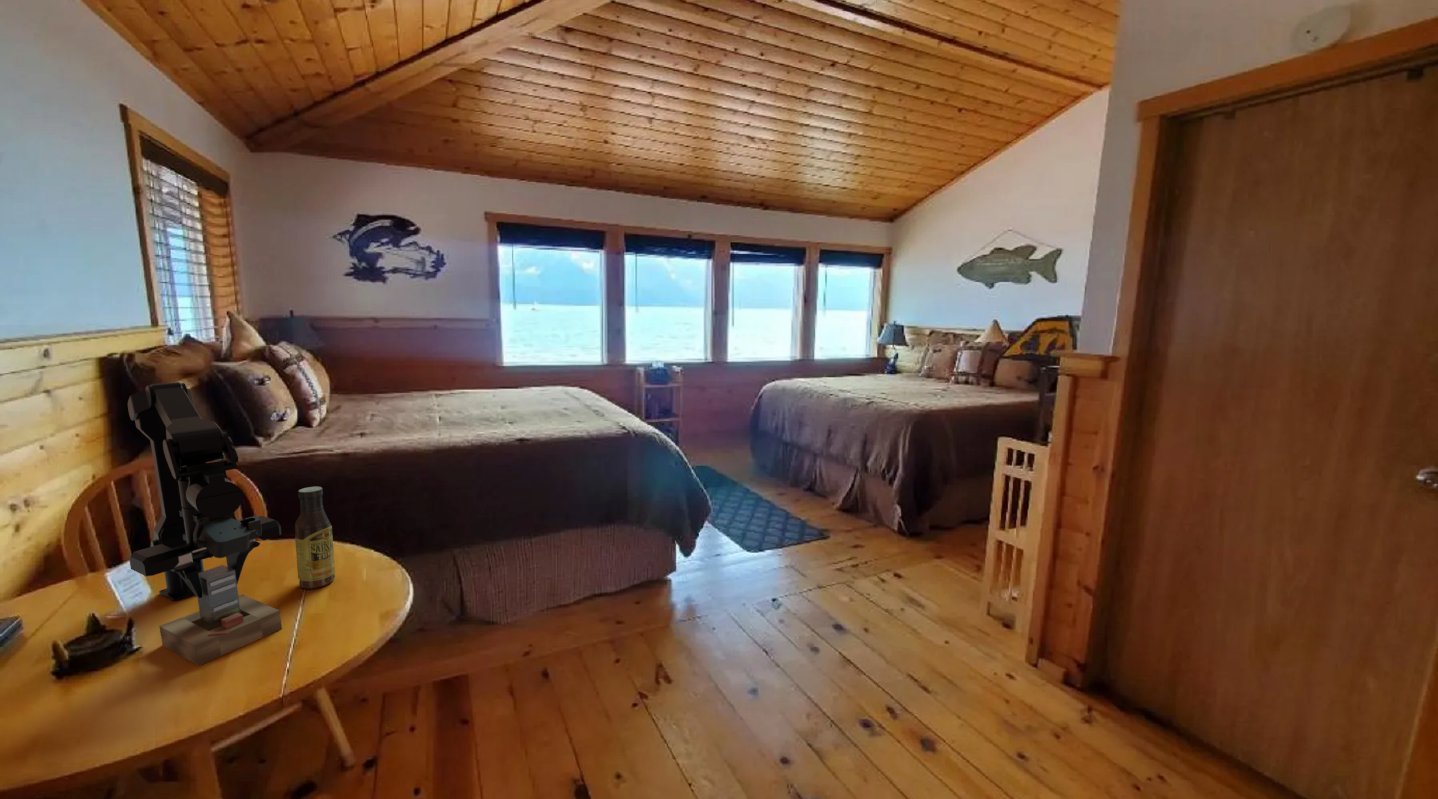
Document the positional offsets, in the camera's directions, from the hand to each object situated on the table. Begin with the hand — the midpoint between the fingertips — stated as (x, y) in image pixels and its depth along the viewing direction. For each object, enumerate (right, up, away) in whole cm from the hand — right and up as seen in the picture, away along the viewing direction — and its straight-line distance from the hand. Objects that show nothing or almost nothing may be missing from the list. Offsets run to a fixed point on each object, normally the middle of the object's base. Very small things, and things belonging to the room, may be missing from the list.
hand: (217, 591), depth 100 cm
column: (0, -5, +1) cm, 5 cm away
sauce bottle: (+3, -5, +21) cm, 22 cm away
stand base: (0, -8, +1) cm, 8 cm away
